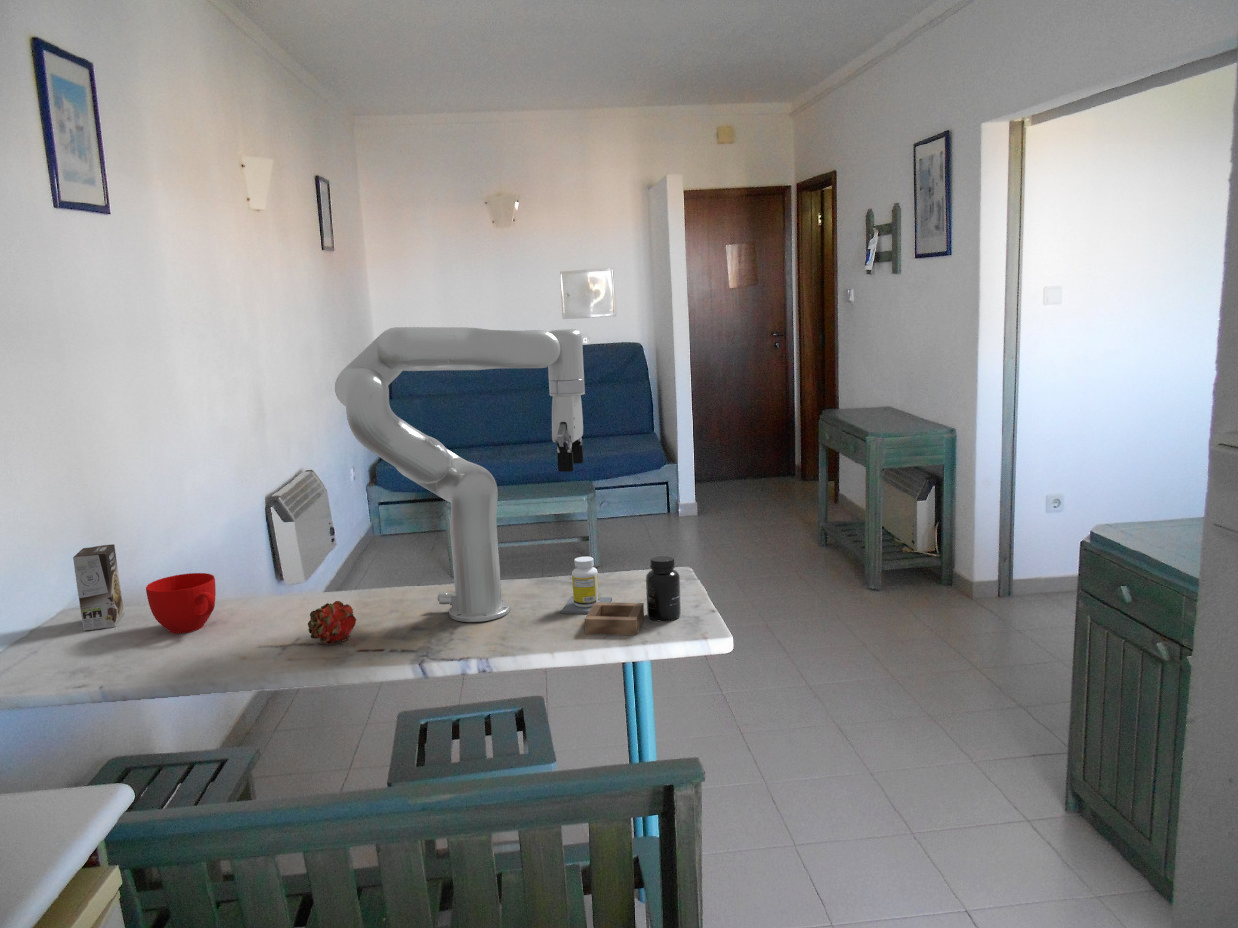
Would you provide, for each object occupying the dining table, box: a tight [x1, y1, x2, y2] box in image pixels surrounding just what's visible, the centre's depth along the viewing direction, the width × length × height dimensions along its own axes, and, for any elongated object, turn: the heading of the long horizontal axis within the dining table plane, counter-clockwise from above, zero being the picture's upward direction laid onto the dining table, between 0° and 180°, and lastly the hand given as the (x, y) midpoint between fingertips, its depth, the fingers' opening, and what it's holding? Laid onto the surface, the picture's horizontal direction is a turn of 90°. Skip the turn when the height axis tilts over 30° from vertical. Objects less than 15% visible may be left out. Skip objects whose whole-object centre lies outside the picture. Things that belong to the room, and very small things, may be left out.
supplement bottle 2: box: [645, 555, 682, 622], centre depth 183 cm, size 7×7×12 cm
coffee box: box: [72, 543, 125, 632], centre depth 194 cm, size 9×6×16 cm
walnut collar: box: [584, 602, 645, 636], centre depth 179 cm, size 10×10×3 cm
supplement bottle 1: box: [571, 556, 600, 607], centre depth 191 cm, size 5×5×10 cm
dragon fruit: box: [307, 600, 357, 646], centre depth 178 cm, size 8×8×12 cm
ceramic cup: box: [145, 572, 217, 634], centre depth 188 cm, size 13×17×10 cm
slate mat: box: [560, 596, 613, 615], centre depth 192 cm, size 9×9×1 cm
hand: (571, 467), depth 196 cm, fingers open, 9 cm apart
